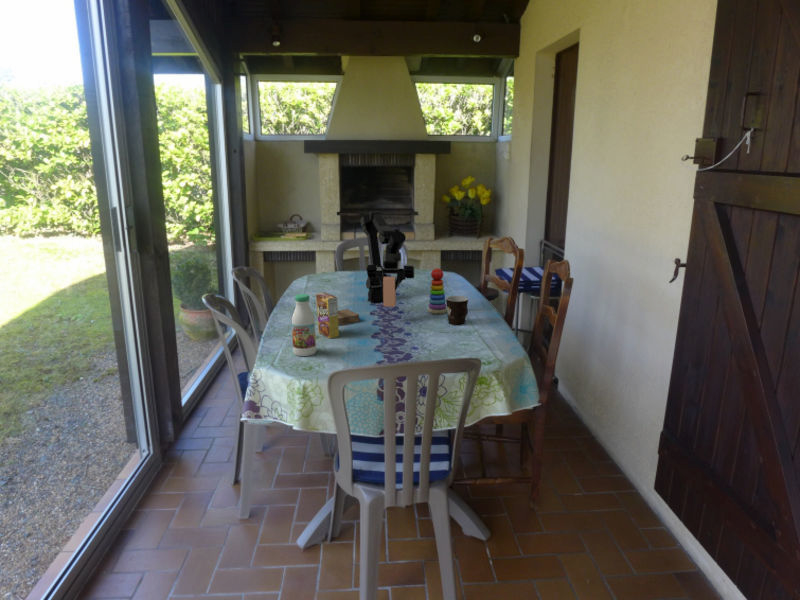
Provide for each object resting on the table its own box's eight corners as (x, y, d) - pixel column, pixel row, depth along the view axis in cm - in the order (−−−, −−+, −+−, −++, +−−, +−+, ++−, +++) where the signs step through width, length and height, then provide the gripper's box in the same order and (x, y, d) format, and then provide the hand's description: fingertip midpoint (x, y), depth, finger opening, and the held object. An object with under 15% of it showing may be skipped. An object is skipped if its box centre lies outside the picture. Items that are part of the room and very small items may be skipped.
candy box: (317, 333, 208) (315, 293, 204) (327, 330, 210) (325, 291, 206) (329, 339, 201) (327, 298, 197) (339, 336, 203) (338, 296, 200)
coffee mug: (445, 319, 224) (445, 295, 221) (466, 320, 223) (467, 295, 221) (446, 328, 212) (447, 303, 210) (469, 328, 212) (469, 303, 210)
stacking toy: (448, 310, 237) (449, 267, 232) (444, 315, 230) (444, 271, 225) (431, 308, 240) (431, 266, 235) (425, 313, 232) (426, 269, 227)
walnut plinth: (347, 316, 229) (347, 309, 229) (359, 321, 221) (358, 314, 221) (325, 319, 224) (325, 312, 223) (336, 326, 216) (336, 318, 215)
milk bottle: (294, 349, 191) (291, 292, 185) (317, 348, 191) (314, 292, 186) (292, 357, 183) (288, 298, 178) (315, 356, 184) (313, 298, 179)
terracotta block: (384, 303, 222) (384, 276, 219) (395, 303, 222) (395, 276, 219) (383, 306, 218) (383, 279, 215) (394, 306, 217) (394, 279, 215)
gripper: (366, 244, 218) (363, 278, 211) (414, 245, 217) (412, 279, 209) (369, 260, 228) (366, 293, 220) (415, 261, 226) (413, 294, 219)
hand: (389, 289), depth 217 cm, fingers closed on terracotta block, 4 cm apart
